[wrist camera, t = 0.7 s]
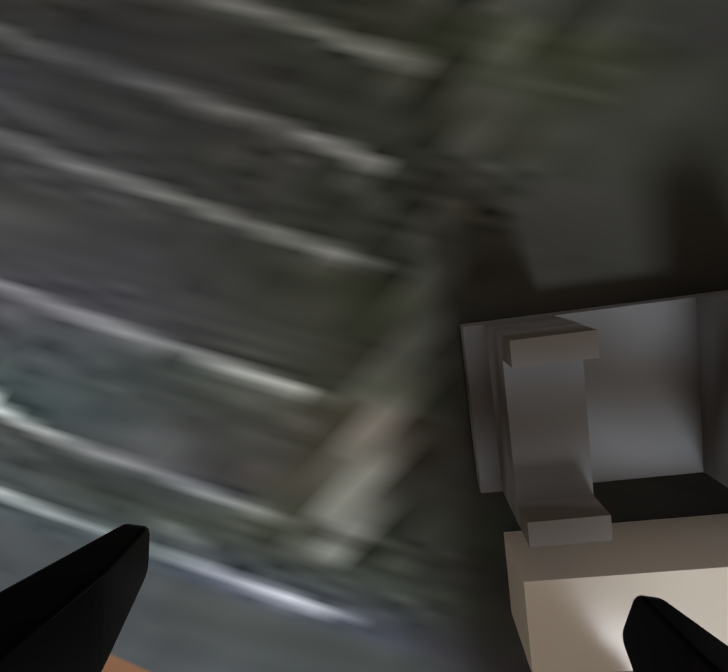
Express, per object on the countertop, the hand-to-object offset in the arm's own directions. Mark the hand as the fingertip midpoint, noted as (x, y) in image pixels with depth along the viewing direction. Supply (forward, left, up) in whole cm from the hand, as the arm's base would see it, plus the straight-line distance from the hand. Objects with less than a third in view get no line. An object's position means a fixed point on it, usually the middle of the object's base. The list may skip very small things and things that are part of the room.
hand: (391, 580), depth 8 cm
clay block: (-10, -10, -14) cm, 21 cm away
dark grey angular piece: (-1, -10, -14) cm, 18 cm away
